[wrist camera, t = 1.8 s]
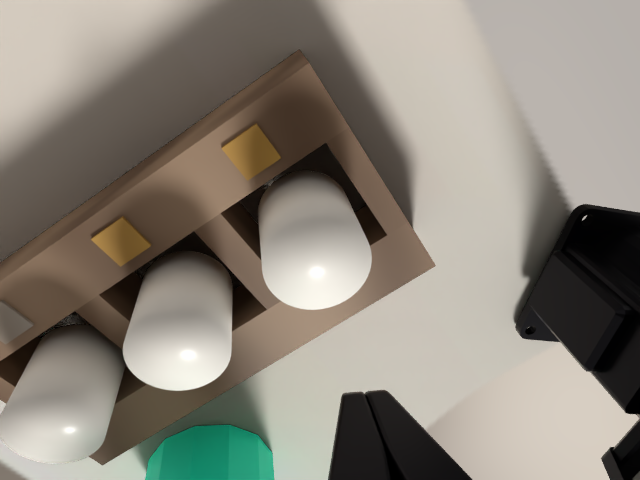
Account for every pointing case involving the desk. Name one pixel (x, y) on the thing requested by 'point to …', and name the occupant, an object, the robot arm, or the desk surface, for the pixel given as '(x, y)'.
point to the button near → (311, 242)
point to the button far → (64, 396)
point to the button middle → (181, 323)
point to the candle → (212, 456)
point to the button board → (218, 234)
